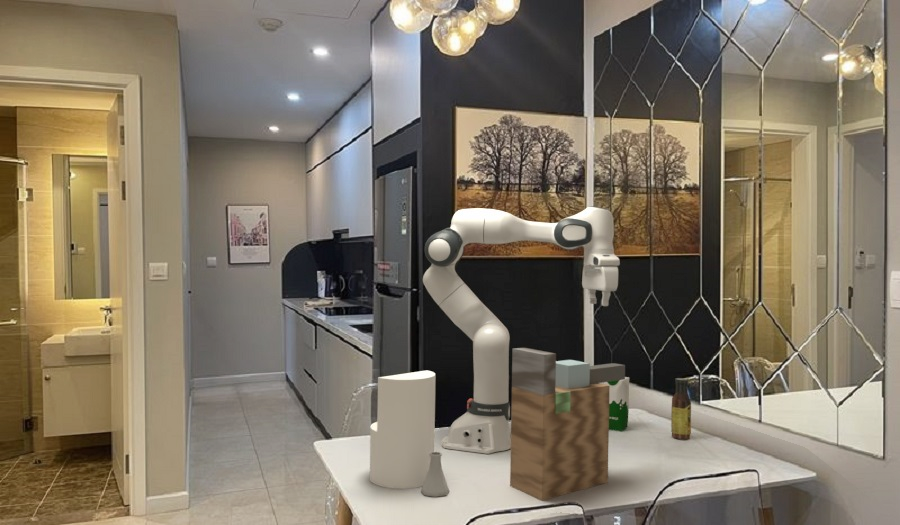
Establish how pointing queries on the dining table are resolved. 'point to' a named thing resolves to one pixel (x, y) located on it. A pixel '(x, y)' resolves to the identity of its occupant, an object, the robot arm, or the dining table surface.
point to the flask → (435, 477)
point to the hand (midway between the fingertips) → (598, 304)
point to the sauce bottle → (681, 411)
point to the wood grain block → (555, 429)
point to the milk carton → (618, 404)
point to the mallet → (586, 373)
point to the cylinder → (403, 430)
